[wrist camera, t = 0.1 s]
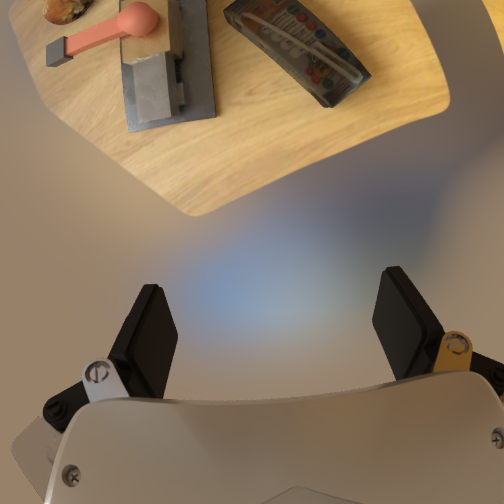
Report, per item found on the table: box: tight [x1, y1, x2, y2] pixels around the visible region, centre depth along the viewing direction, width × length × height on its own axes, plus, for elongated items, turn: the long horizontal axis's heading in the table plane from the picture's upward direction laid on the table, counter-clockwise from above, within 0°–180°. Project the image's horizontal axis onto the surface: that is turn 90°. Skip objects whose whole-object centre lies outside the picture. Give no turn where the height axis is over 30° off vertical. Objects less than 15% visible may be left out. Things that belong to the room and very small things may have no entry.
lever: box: [46, 1, 158, 67], centre depth 20 cm, size 15×4×3 cm, turn 94°
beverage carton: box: [223, 0, 371, 108], centre depth 28 cm, size 8×19×7 cm, turn 45°
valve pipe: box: [119, 0, 216, 133], centre depth 25 cm, size 28×13×8 cm, turn 4°
